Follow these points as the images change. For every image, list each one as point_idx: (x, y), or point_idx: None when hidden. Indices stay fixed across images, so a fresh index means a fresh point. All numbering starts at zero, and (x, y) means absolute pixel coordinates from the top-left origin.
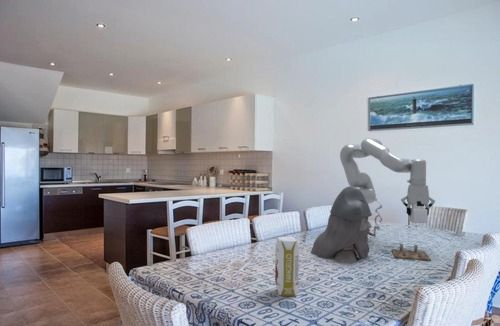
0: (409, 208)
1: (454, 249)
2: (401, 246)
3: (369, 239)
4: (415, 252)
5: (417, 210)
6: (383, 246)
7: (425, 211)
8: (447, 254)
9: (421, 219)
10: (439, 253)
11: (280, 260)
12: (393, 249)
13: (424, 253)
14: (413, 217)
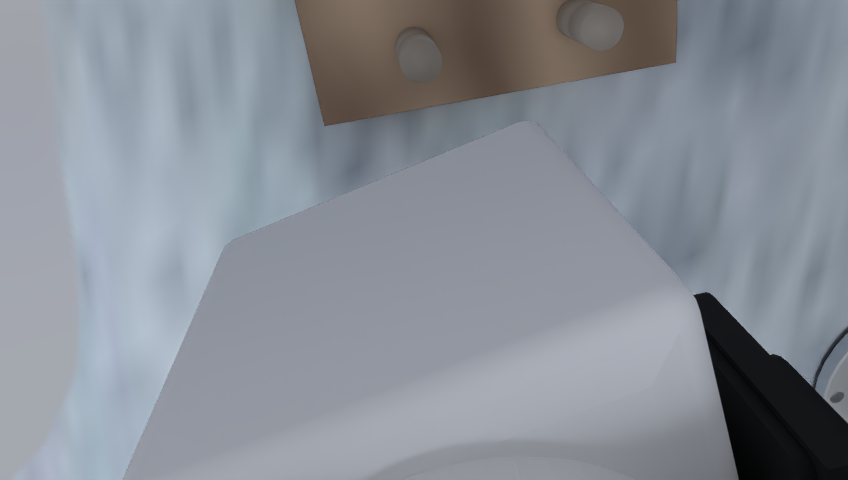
0: (830, 447)
1: (75, 445)
2: (594, 4)
3: (835, 382)
4: (418, 14)
5: (511, 328)
6: (721, 230)
7: (197, 424)
8: (98, 203)
9: (349, 223)
10: (178, 206)
11: None
12: (657, 43)
13: (317, 15)
14: (575, 167)
